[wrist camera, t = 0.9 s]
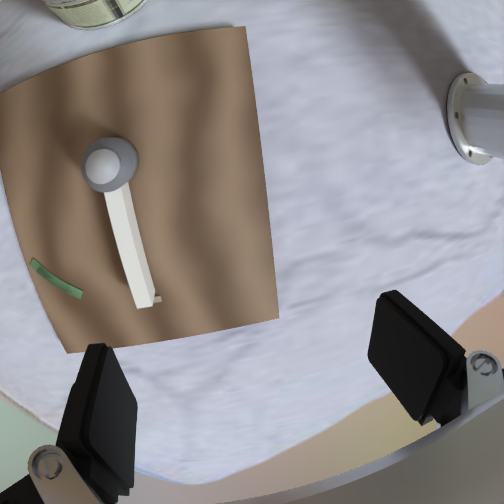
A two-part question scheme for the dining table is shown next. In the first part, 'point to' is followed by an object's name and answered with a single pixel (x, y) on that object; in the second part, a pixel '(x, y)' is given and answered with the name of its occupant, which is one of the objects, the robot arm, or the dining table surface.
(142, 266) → the dial needle
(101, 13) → the coffee can
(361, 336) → the dining table surface
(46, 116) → the dial plate
